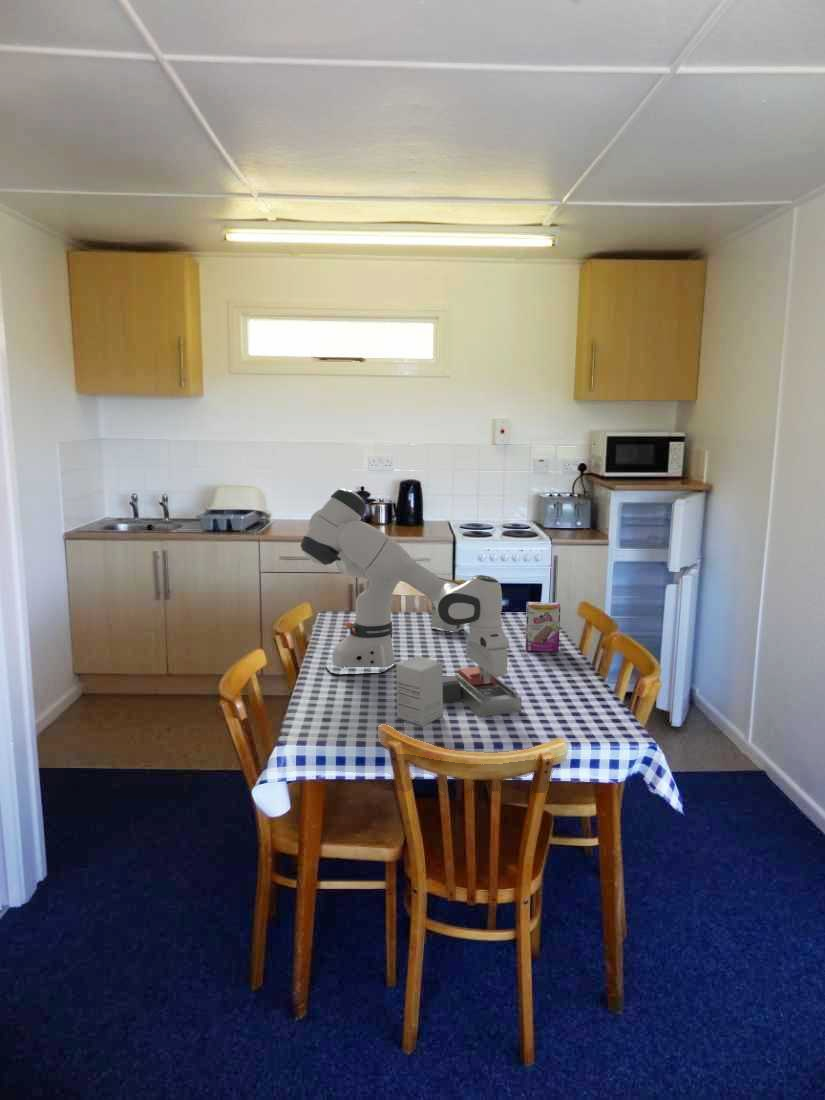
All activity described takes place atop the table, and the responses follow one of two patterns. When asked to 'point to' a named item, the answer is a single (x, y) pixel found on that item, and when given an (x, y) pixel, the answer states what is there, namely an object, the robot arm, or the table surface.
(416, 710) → the supplement box
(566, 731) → the table surface
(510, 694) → the socket
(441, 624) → the light bulb box
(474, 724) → the table surface
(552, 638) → the candy bar box
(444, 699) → the plug
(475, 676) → the red stepped block
